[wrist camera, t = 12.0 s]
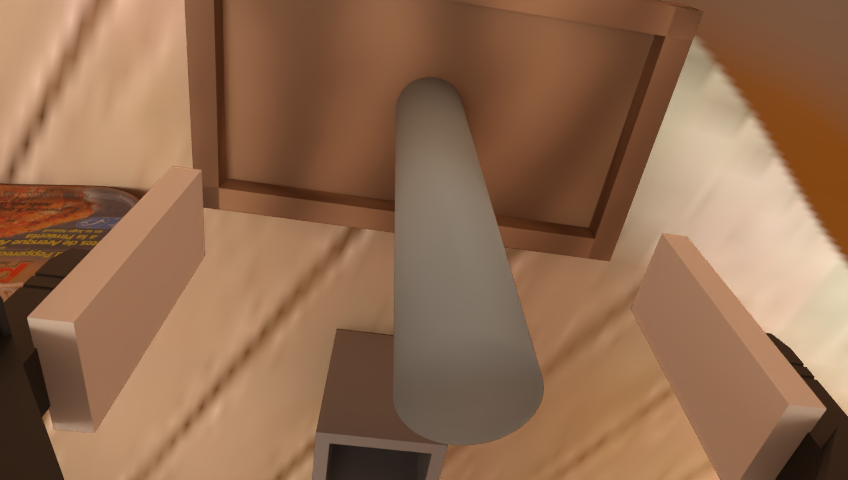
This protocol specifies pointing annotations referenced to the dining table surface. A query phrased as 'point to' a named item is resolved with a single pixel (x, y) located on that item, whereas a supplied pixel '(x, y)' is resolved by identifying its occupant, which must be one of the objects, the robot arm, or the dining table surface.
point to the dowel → (453, 284)
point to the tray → (473, 80)
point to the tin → (52, 225)
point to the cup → (368, 418)
